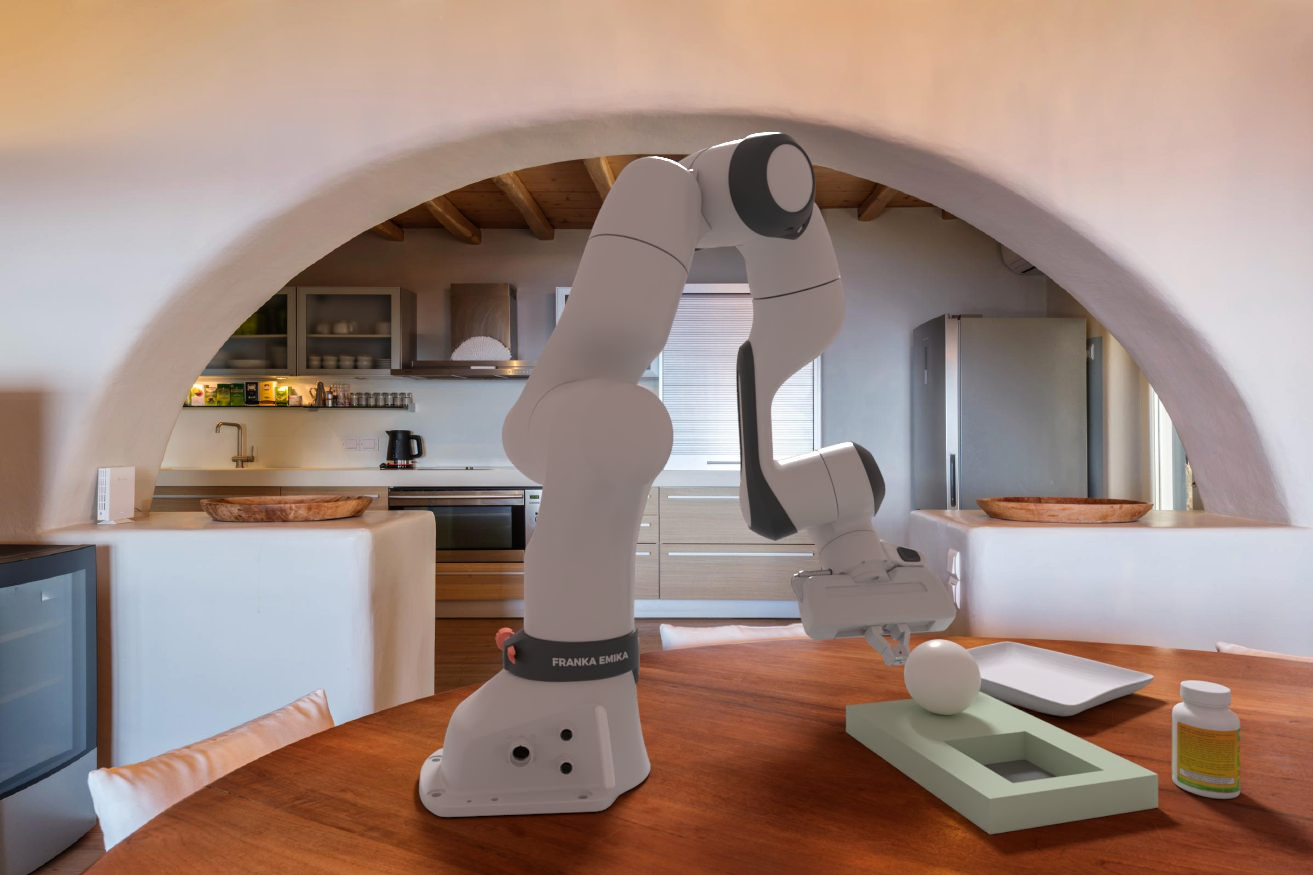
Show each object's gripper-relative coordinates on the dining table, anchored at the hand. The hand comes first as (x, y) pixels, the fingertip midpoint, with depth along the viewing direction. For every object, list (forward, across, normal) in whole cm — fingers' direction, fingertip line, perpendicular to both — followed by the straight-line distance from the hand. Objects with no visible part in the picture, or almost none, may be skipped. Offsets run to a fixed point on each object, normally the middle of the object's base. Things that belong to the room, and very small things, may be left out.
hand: (900, 662), depth 95 cm
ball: (+5, 0, -6) cm, 8 cm away
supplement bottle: (+22, +17, -13) cm, 31 cm away
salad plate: (+2, +23, +8) cm, 24 cm away
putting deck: (+15, 0, -6) cm, 16 cm away
